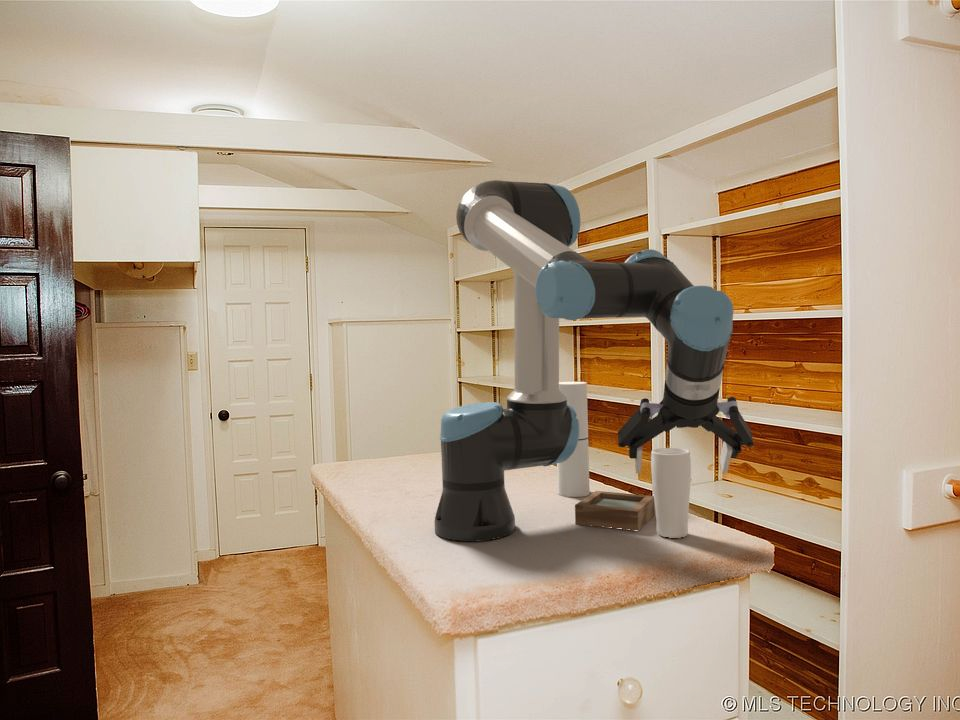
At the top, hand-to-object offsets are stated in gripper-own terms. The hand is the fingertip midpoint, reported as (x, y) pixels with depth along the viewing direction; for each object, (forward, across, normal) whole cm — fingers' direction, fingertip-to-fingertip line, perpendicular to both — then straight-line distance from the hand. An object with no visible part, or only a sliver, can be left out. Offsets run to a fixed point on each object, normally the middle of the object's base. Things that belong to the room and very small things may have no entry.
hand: (680, 466), depth 109 cm
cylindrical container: (+36, -19, +17) cm, 44 cm away
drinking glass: (+15, -1, -4) cm, 16 cm away
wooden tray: (+22, -10, +2) cm, 24 cm away
